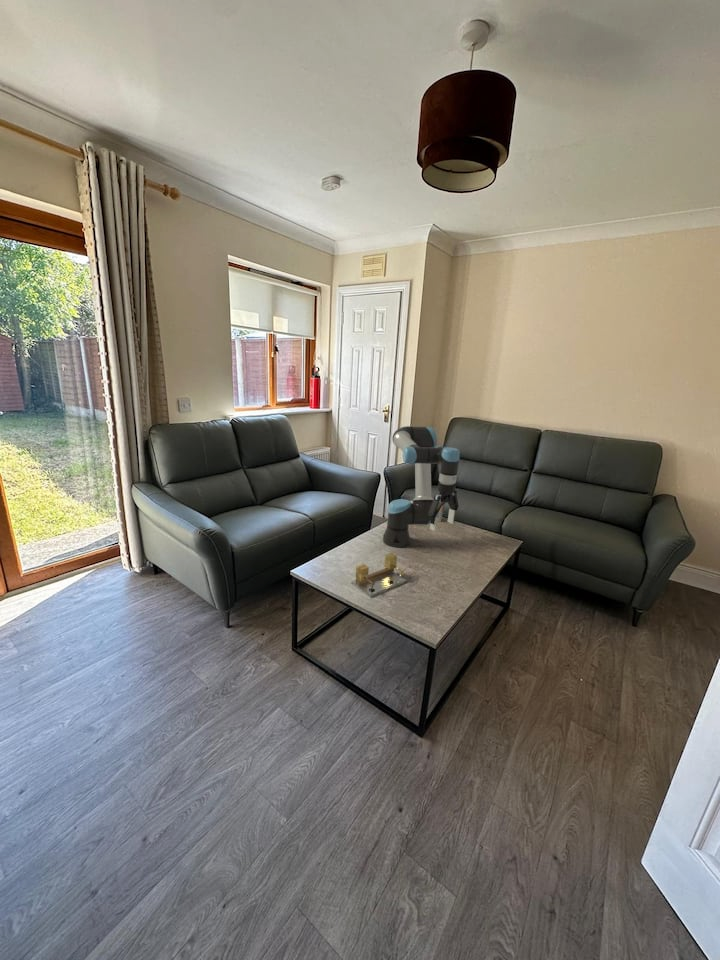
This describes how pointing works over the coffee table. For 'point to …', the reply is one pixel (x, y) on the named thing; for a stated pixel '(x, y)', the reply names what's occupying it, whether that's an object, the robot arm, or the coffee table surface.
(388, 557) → the slider leg
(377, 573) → the beam
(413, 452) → the robot arm
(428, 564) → the coffee table surface
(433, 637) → the coffee table surface
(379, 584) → the hole plate
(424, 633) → the coffee table surface
